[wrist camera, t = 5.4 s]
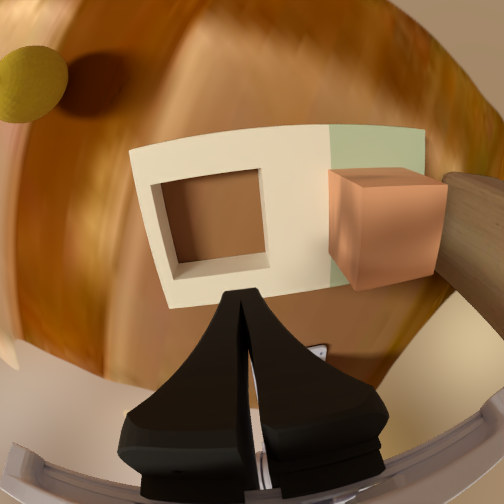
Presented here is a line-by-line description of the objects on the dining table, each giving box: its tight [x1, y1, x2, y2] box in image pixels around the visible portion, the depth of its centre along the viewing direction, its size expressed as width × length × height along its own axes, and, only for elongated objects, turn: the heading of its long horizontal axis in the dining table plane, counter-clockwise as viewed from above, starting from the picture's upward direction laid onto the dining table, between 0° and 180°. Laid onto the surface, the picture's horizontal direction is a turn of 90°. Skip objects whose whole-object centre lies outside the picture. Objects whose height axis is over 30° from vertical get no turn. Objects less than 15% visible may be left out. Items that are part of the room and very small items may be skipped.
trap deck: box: [129, 124, 425, 309], centre depth 19 cm, size 12×20×2 cm, turn 96°
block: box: [328, 167, 448, 292], centre depth 16 cm, size 6×6×5 cm
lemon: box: [0, 46, 68, 123], centre depth 10 cm, size 6×6×8 cm
